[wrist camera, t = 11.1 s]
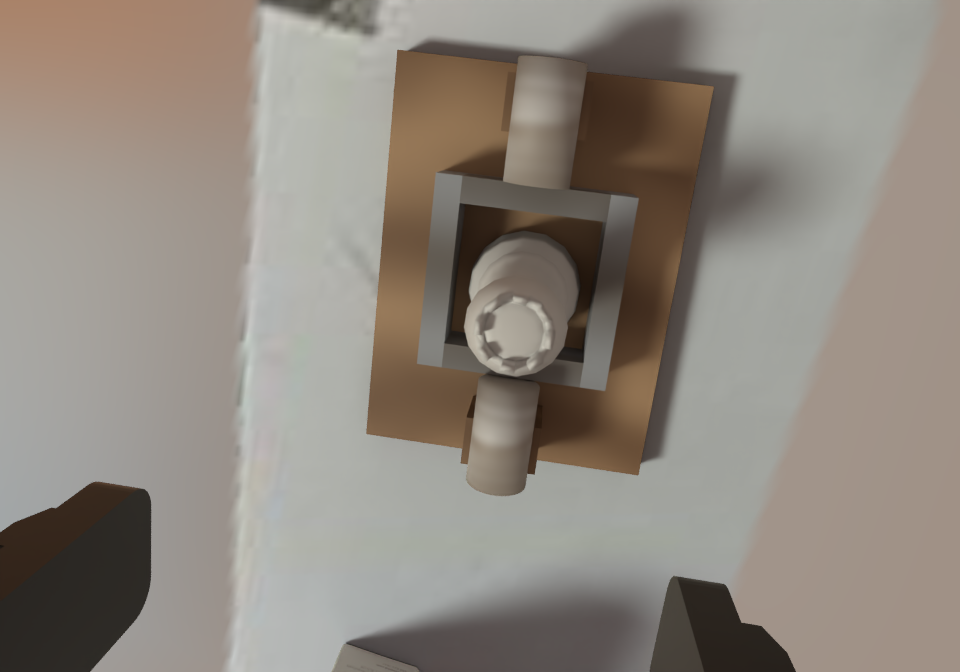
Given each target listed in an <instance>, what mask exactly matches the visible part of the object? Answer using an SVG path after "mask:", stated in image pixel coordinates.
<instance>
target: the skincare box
mask: <svg viewBox="0 0 960 672" xmlns="http://www.w3.org/2000/svg"><path fill="white" fill-rule="evenodd" d="M332 672H419V669H418V668H417V667H415V666H411V665H408V664H405V663H402V662H399V661H396V660H393V659H390V658H387V657H384V656H381V655H378V654H375V653H372V652H369V651H366V650H364V649H361V648H358V647H355V646H352V645H348V644H344V645H343V646H342V648H341V650H340V652H339V655H338V657H337V659H336V662H335V664H334V667H333V669H332Z"/></svg>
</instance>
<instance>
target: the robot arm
mask: <svg viewBox="0 0 960 672" xmlns="http://www.w3.org/2000/svg"><path fill="white" fill-rule="evenodd" d="M150 581H151V500H150V496H149V494H148V492H147V491H146V490H144V489H140V488H134V487H128V486H122V485H115V484H109V483H103V482H93V483H91V484H89V485H88V486H86V487H85V488H83V489H82V490H81V491H79V492H78V493H77V494H75V495H74V496H72V497H71V498H70V499H68V500H67V501H66V502H64V503H63V504H61V505H60V506H59V507H57V508H50V509H47V510H45V511H42V512H40V513H37V514H35V515H32V516H30V517H27V518H25V519H22V520H20V521H17V522H15V523H13V524H11V525H10V526H9V527H7V528H6V529H4V530H3V531H2V532H0V672H90V671H91V670H92V669H93V668H94V666H95V665H96V664H97V663H98V662H99V661H100V660H101V659H102V657H103V656H104V655H105V654H106V653H107V652H108V651H109V650H110V648H111V647H112V646H113V645H114V644H115V643H116V642H117V640H118V639H119V638H120V637H121V636H122V635H123V633H125V631H126V630H127V629H128V628H129V627H130V626H131V625H132V623H133V622H134V621H135V620H136V619H137V617H138V615H139V614H140V612H141V610H142V608H143V606H144V604H145V601H146V598H147V595H148V592H149V587H150ZM650 672H796V671H795V669H794V667H793V664H792V663H791V660H790V658H789V656H788V654H787V652H786V651H785V650H784V649H783V648H782V647H781V646H780V645H779V644H778V643H777V642H776V641H775V640H774V639H773V638H772V637H771V636H770V635H769V634H768V633H767V632H766V631H765V629H764V628H763V627H762V626H758V625H752V624H746V623H741V621H740V618H739V616H738V613H737V611H736V608H735V605H734V603H733V600H732V598H731V595H730V593H729V590H728V588H727V586H726V585H724V584H720V583H714V582H708V581H702V580H696V579H689V578H683V577H677V576H673V577H672V578H671V580H670V582H669V585H668V588H667V592H666V597H665V601H664V606H663V610H662V615H661V620H660V624H659V629H658V634H657V638H656V643H655V647H654V652H653V657H652V661H651V667H650Z"/></svg>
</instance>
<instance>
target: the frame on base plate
mask: <svg viewBox="0 0 960 672" xmlns="http://www.w3.org/2000/svg"><path fill="white" fill-rule="evenodd" d="M587 68H588V64H586V63H583V62H579V61H574V60H568V59H562V58H554V57H544V56H519V57H518V64H515V63H507V62H498V61H489V60H481V59H472V58H464V57H455V56H446V55H438V54H429V53H421V52H412V51H403V50H397V62H396V75H395V87H394V99H393V112H392V124H391V136H390V149H389V161H388V173H387V186H386V198H385V210H384V223H383V235H382V247H381V259H380V272H379V284H378V296H377V309H376V321H375V333H374V346H373V358H372V370H371V383H370V395H369V407H368V420H367V432H366V434H371V435H377V436H384V437H390V438H397V439H403V440H410V441H417V442H423V443H430V444H436V445H443V446H449V447H456V448H462V457H461V463H462V464H468V467H467V475H466V480H467V483H468V484H469V485H470V486H471V487H472V488H474V489H476V490H478V491H480V492H482V493H485V494H489V495H495V496H510V495H515V494H518V493H520V492H522V491H523V490H524V488H525V485H526V478H527V474H534V475H535V468H536V462H537V460H541V461H548V462H554V463H561V464H567V465H574V466H581V467H587V468H594V469H600V470H607V471H613V472H620V473H626V474H633V475H638V474H639V469H640V464H641V459H642V454H643V449H644V443H645V438H646V433H647V428H648V423H649V418H650V413H651V407H652V402H653V397H654V392H655V387H656V382H657V377H658V371H659V366H660V361H661V356H662V351H663V346H664V341H665V336H666V330H667V325H668V320H669V315H670V310H671V305H672V300H673V294H674V289H675V284H676V279H677V274H678V269H679V264H680V258H681V253H682V248H683V243H684V238H685V233H686V228H687V223H688V217H689V212H690V207H691V202H692V197H693V192H694V187H695V181H696V176H697V171H698V166H699V161H700V156H701V151H702V146H703V140H704V135H705V130H706V125H707V120H708V115H709V110H710V104H711V99H712V94H713V89H714V86H705V85H696V84H688V83H679V82H670V81H662V80H653V79H645V78H636V77H627V76H619V75H610V74H602V73H593V72H587ZM520 231H529V232H534V233H540V234H545V235H547V236H549V237H550V238H552V239H553V240H555V241H556V242H558V243H559V244H561V245H562V246H564V247H565V248H566V250H567V251H568V253H569V254H570V256H571V257H572V259H573V260H574V262H575V263H576V265H577V269H578V274H579V280H580V285H581V287H580V292H579V297H578V301H577V306H576V310H575V312H574V314H573V315H572V317H571V318H570V319H569V321H568V322H567V325H568V329H567V334H566V339H565V344H564V347H563V348H562V350H561V351H560V353H559V354H558V356H557V357H556V358H555V360H554V361H553V363H551V364H549V365H548V366H546V367H545V368H543V369H541V370H540V371H538V372H537V373H533V374H528V375H522V376H517V377H516V376H511V375H505V374H500V373H496V372H495V371H493V370H492V369H490V368H488V367H487V366H485V365H484V364H482V363H481V362H480V361H479V360H478V359H477V357H476V356H475V354H474V353H473V352H472V350H471V349H470V348H469V346H468V342H467V338H466V333H465V329H464V324H465V319H466V313H467V308H468V306H469V305H470V303H471V299H470V295H469V286H470V280H471V274H472V269H473V265H474V263H475V262H476V260H477V259H478V257H479V256H480V254H481V252H482V251H483V249H484V248H485V247H486V246H488V245H489V244H491V243H492V242H493V241H495V240H496V239H498V238H499V237H501V236H502V235H506V234H511V233H515V232H520Z"/></svg>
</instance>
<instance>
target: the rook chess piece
mask: <svg viewBox="0 0 960 672" xmlns="http://www.w3.org/2000/svg"><path fill="white" fill-rule="evenodd" d="M580 287H581V285H580V280H579V274H578V269H577V265H576V263H575V262H574V260H573V259H572V257H571V256H570V254H569V253H568V251H567V250H566V248H565V247H564V246H562V245H561V244H559V243H558V242H556V241H555V240H553V239H552V238H550V237H549V236H547V235H545V234H540V233H534V232H529V231H520V232H515V233H511V234H506V235H502V236H501V237H499V238H498V239H496V240H495V241H493V242H492V243H491V244H489V245H488V246H486V247H485V248H484V249H483V251H482V252H481V254H480V256H479V257H478V259H477V260H476V262H475V263H474V265H473V269H472V274H471V280H470V286H469V295H470V299H471V303H470V305H469V306H468V308H467V313H466V319H465V324H464V329H465V333H466V338H467V342H468V346H469V348H470V349H471V350H472V352H473V353H474V354H475V356H476V357H477V359H478V360H479V361H480V362H481V363H482V364H484V365H485V366H487V367H488V368H490V369H492V370H493V371H495V372H496V373H500V374H505V375H511V376H516V377H517V376H522V375H528V374H533V373H537V372H538V371H540V370H541V369H543V368H545V367H546V366H548V365H549V364H551V363H553V361H554V360H555V358H556V357H557V356H558V354H559V353H560V351H561V350H562V348H563V347H564V344H565V339H566V334H567V329H568V325H567V322H568V321H569V319H570V318H571V317H572V315H573V314H574V312H575V310H576V306H577V301H578V297H579V292H580Z"/></svg>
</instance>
